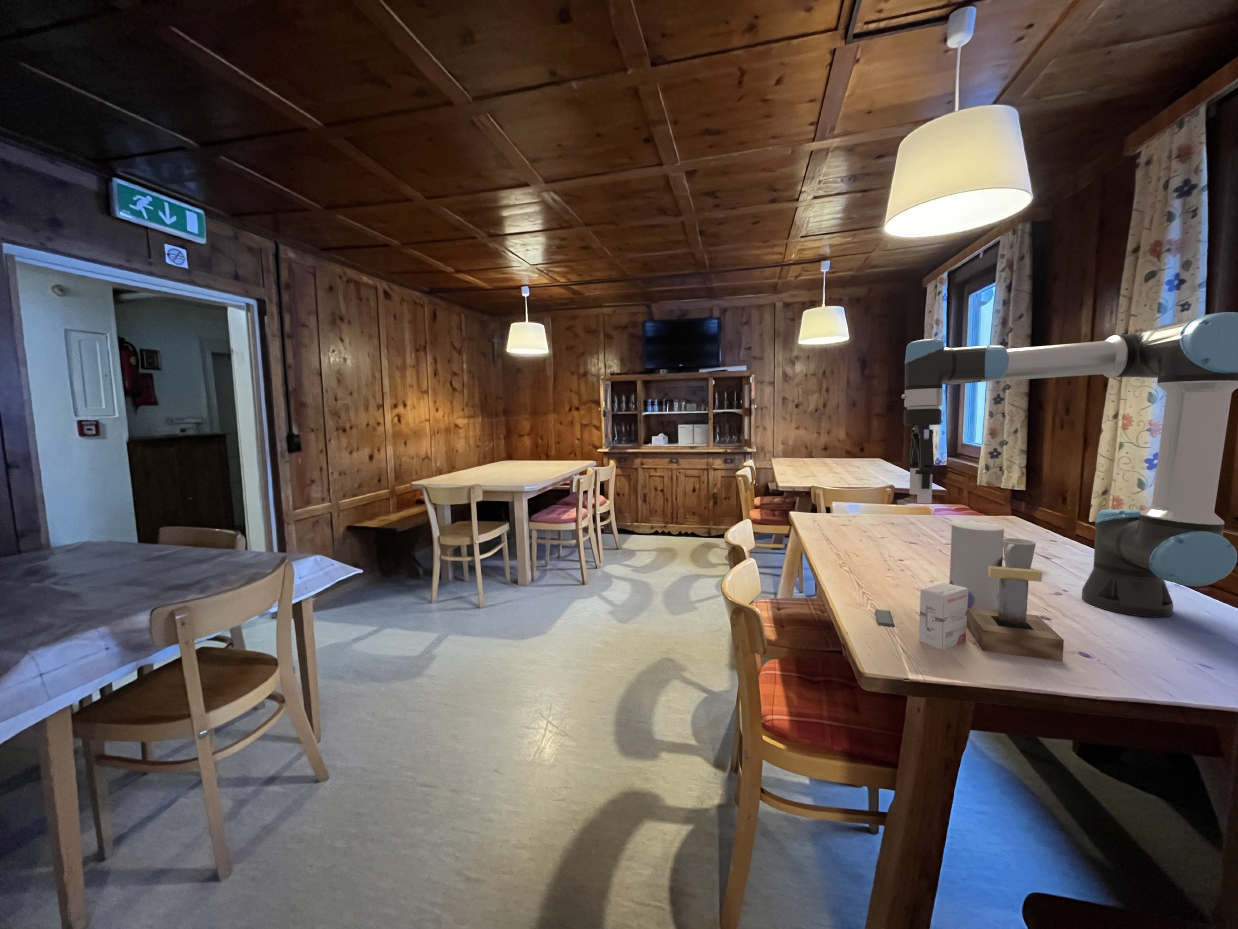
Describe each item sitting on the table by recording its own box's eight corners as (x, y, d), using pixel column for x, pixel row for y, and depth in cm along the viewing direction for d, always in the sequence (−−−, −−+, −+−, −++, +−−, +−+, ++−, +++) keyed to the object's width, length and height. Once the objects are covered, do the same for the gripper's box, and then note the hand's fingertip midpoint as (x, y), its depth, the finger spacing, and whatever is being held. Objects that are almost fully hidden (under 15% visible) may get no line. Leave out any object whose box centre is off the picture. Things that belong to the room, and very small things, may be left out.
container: (1009, 616, 112) (1013, 530, 110) (960, 613, 114) (963, 529, 112) (986, 600, 122) (989, 521, 120) (941, 598, 124) (944, 520, 122)
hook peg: (1031, 640, 98) (1035, 568, 96) (1040, 650, 94) (1044, 574, 92) (982, 634, 101) (986, 564, 99) (989, 643, 97) (992, 570, 95)
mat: (913, 616, 113) (914, 613, 113) (920, 630, 106) (920, 627, 106) (874, 611, 116) (875, 609, 116) (878, 624, 109) (878, 622, 109)
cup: (1039, 570, 144) (1041, 542, 143) (1021, 575, 140) (1022, 546, 139) (1009, 564, 151) (1011, 536, 150) (991, 568, 147) (992, 540, 146)
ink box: (942, 635, 103) (944, 580, 102) (967, 645, 99) (970, 587, 98) (917, 645, 99) (919, 588, 98) (942, 655, 95) (945, 595, 94)
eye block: (1036, 639, 100) (1037, 615, 100) (1062, 666, 89) (1063, 640, 89) (966, 630, 105) (967, 607, 105) (982, 655, 94) (983, 630, 94)
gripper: (898, 409, 127) (896, 490, 129) (910, 407, 104) (908, 506, 106) (932, 408, 124) (929, 491, 126) (952, 406, 101) (949, 508, 103)
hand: (919, 498), depth 116 cm, fingers open, 13 cm apart
